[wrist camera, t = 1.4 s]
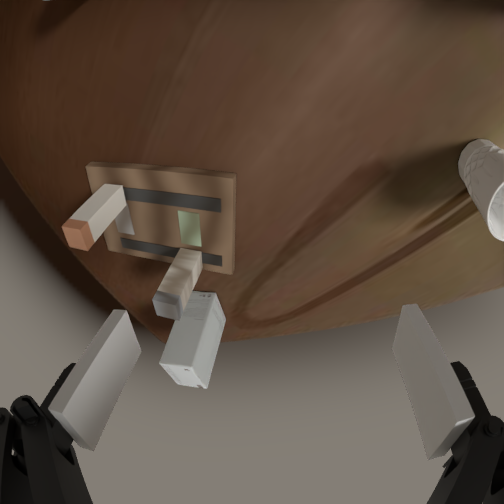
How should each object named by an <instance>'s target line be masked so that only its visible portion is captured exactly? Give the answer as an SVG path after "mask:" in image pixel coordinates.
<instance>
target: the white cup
mask: <svg viewBox="0 0 504 504" xmlns="http://www.w3.org/2000/svg"><path fill="white" fill-rule="evenodd" d="M458 169H459V176H460V177H461V179H462V181H463V182H464V184H465V186H466V187H467V190H468V192H469V194H470V196H471V198H472V200H473V201H474V203H475V205H476V206H477V208H478V210H479V212H480V214H481V215H482V217H483V219H484V221H485V223H486V225H487V227H488V228H489V230H490V232H491V234H492V235H493V236H494V237H495V238H497V239H498V240H501V241H504V150H503V149H501V148H499V147H498V146H496V145H495V144H494V143H492V142H491V141H489V140H486V139H477V140H475V141H472V142H470V143H468V145H467V146H466V147H465V148H464V149H463V151H462V152H461V155H460V158H459V161H458Z"/></svg>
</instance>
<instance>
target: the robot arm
mask: <svg viewBox="0 0 504 504" xmlns="http://www.w3.org/2000/svg"><path fill="white" fill-rule="evenodd" d="M392 351H393V354H394V356H395V359H396V362H397V365H398V367H399V370H400V373H401V376H402V378H403V381H404V384H405V387H406V390H407V393H408V396H409V399H410V402H411V405H412V408H413V411H414V414H415V417H416V420H417V424H418V427H419V430H420V433H421V437H422V441H423V444H424V448H425V451H426V455H427V458H428V460H430V459H434V458H437V457H441V456H444V455H445V454H446V453H447V452H448V450H449V449H450V448H451V450H452V454H453V455H452V456H451V457H450V458H449V460H448V461H447V462H446V463H445V464H444V466H443V467H444V468H445V467H446V468H445V470H444V472H443V475H442V476H441V479H440V480H439V482H438V484H437V486H436V488H435V490H434V492H433V493H432V495H431V497H430V499H429V501H428V502H427V504H482V502H483V504H504V422H503V421H502V420H501V419H500V418H498V417H496V416H491V415H490V413H489V411H488V409H487V407H486V405H485V403H484V400H483V398H482V397H481V394H480V392H479V390H478V388H477V387H476V384H475V382H474V380H472V377H471V375H470V373H469V371H468V369H467V368H466V367H465V366H464V365H463V364H462V363H460V362H459V361H458V362H453V363H450V362H449V360H448V358H447V356H446V355H445V353H444V351H443V349H442V347H441V345H440V343H439V341H438V340H437V338H436V336H435V334H434V332H433V331H432V329H431V327H430V325H429V324H428V322H427V320H426V319H425V317H424V315H423V313H422V312H421V310H420V308H419V307H418V305H417V304H410V305H403V306H402V310H401V315H400V319H399V323H398V327H397V331H396V335H395V339H394V343H393V346H392ZM140 353H141V349H140V346H139V343H138V341H137V338H136V336H135V333H134V330H133V327H132V324H131V322H130V319H129V316H128V313H127V311H126V310H113V312H112V313H111V314H110V316H109V317H108V319H107V320H106V321H105V323H104V324H103V326H102V327H101V328H100V330H99V331H98V333H97V334H96V336H95V337H94V338H93V340H92V341H91V343H90V344H89V345H88V347H87V348H86V350H85V351H84V353H83V354H82V356H81V357H80V359H79V360H78V362H77V363H72V364H70V365H69V366H68V367H67V368H66V369H64V370H63V372H62V373H61V375H60V376H59V379H57V381H56V383H55V386H53V387H52V389H51V390H50V392H49V393H48V395H47V396H46V398H45V400H44V401H43V403H42V404H41V406H40V407H39V406H38V405H37V403H36V402H35V401H34V399H33V398H32V397H31V396H28V395H24V396H20V397H18V398H17V399H16V400H15V401H14V402H13V403H12V405H11V409H10V411H11V413H12V414H13V415H11V414H10V412H9V411H8V410H7V409H6V408H0V504H93V503H92V500H91V497H90V495H89V492H88V490H87V487H86V484H85V481H84V478H83V475H82V473H81V470H80V467H79V464H78V460H77V457H76V453H75V450H74V448H73V446H72V445H71V444H72V442H73V440H74V441H75V442H76V443H77V444H78V445H79V446H80V447H83V448H86V449H89V450H92V451H94V450H95V447H96V445H97V443H98V441H99V439H100V436H101V434H102V432H103V430H104V428H105V425H106V423H107V421H108V419H109V417H110V415H111V413H112V410H113V408H114V406H115V404H116V402H117V400H118V398H119V396H120V394H121V392H122V389H123V387H124V385H125V383H126V381H127V379H128V377H129V375H130V373H131V371H132V369H133V367H134V365H135V363H136V361H137V359H138V357H139V355H140ZM12 449H13V450H14V455H12Z"/></svg>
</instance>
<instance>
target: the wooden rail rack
mask: <svg viewBox="0 0 504 504" xmlns="http://www.w3.org/2000/svg"><path fill="white" fill-rule="evenodd" d="M86 171H87V175H88V179H89V183H90V187H91V191H92V195H93V194H94V193H95V192H96V191H97V190H98V189H99V188H101V187H102V186H103V185H104V184H112V185H123V190H124V195H125V200H126V206H125V207H124V208H123V210H122V211H121V212H120V213H119V214H118V215H117V216H116V218H115V219H114V220H113V221H112V222H111V223H110V225H109V226H108V227H107V228H106V229H105V231H104V232H103V234H104V237H105V240H106V244H107V247H108V250H110V251H114V252H119V253H124V254H129V255H134V256H138V257H143V258H148V259H153V260H158V261H163V262H168V263H172V264H171V266H170V268H169V269H168V271H167V273H166V275H165V277H164V279H163V280H162V282H161V284H160V286H159V288H158V290H157V292H156V294H155V295H154V297H153V299H152V301H153V304H154V307H155V310H156V314H157V315H158V316H162V317H166V318H170V319H174V320H178V321H179V320H180V318H181V316H182V313H183V311H184V309H185V306H186V304H187V302H188V300H189V297H190V295H191V293H192V291H193V288H194V286H195V284H196V282H197V279H198V277H199V275H200V273H201V270H202V269H204V270H209V271H214V272H219V273H225V274H230V275H232V274H233V271H234V268H235V215H236V173H231V172H223V171H214V170H205V169H195V168H185V167H173V166H161V165H147V164H132V163H113V162H90V163H89V164H88V165H87V166H86Z"/></svg>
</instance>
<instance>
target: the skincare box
mask: <svg viewBox="0 0 504 504" xmlns="http://www.w3.org/2000/svg"><path fill="white" fill-rule="evenodd" d="M225 321H226V318H225V316H224V313H223V310H222V308H221V305H220V303H219V300H218V298H217V295H216V293H213V292H199V291H192V293H191V295H190V297H189V300H188V302H187V304H186V306H185V309H184V311H183V313H182V316H181V318H180V320H179V321H178V320H175V322H174V325H173V327H172V330H171V333H170V335H169V338H168V341H167V343H166V346H165V349H164V352H163V354H162V357H161V360H160V362H159V364H160V365H161V366H162V367H163V368H164V369H165V370H166V372H167V373H168V374H169V375H170V376H171V377H172V378H173V380H174V381H175V382H176V383H177V384H179V385H185V386H191V387H199V388H205V389H206V388H207V387H208V383H209V379H210V376H211V372H212V369H213V365H214V361H215V358H216V353H217V350H218V346H219V343H220V339H221V336H222V332H223V328H224V325H225Z"/></svg>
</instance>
